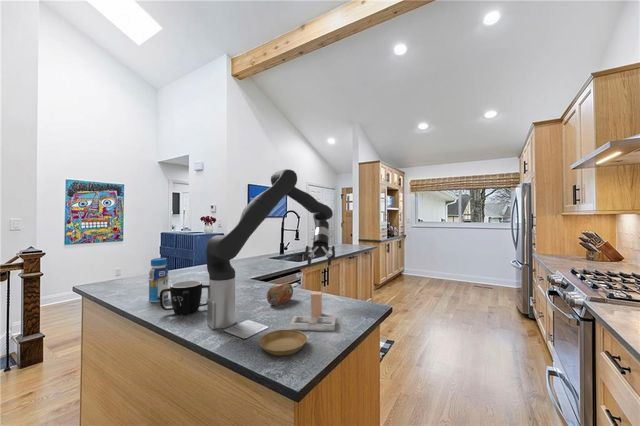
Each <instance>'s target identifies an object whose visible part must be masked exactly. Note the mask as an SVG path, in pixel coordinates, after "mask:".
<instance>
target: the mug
mask: <svg viewBox="0 0 640 426" xmlns="http://www.w3.org/2000/svg"><path fill="white" fill-rule="evenodd" d="M169 286H170V287H168V289H163V290H162V291H161V292H160V302H159V304H160V307H161V309H162V310H163V311H172V310H173V311H172V312H173V313H174V314H175V315H177V316H185V315H186V316H187V315H192V314H194V313H196V312H198V310H200V309H199V308H200V307H205V306H207V300H208V299H209V284H203V282H202V281H200V280H183V281H178V282H174V283H172V284H170V285H169ZM203 289H207V299H206V301H205V302H201V301H202V300H201V299H202V295H203V294H202V293H203V292H202V291H203ZM164 292H168V293H169V292H170V301H171V306H166V304H165V301H164Z"/></svg>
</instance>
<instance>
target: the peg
mask: <svg viewBox="0 0 640 426" xmlns="http://www.w3.org/2000/svg"><path fill="white" fill-rule="evenodd" d="M322 293H323V292H322V291H312V292H311V293H310V316H319V317H322V315H323V311H322V310H323V307H322V306H323V300H322V299H323V295H322Z"/></svg>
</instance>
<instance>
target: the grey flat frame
mask: <svg viewBox="0 0 640 426" xmlns="http://www.w3.org/2000/svg"><path fill="white" fill-rule="evenodd" d="M289 330H296V331H318V332H319V331H321V332H326V331H327V332H335V331H336V316H321V317H319V316H311V315H293V317H292V319H291V321H290V322H289Z"/></svg>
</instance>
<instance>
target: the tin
mask: <svg viewBox="0 0 640 426" xmlns="http://www.w3.org/2000/svg"><path fill="white" fill-rule="evenodd" d="M293 293H294V288H293V286H292V284H291V283H286V282H285V283H284V282H283V283H280V284H277V285H274V286H271V287H270V288H269V289H268V290H267V293H266V300H267V303H268V304H270V305H272V306H275V307H276V306H279V305H281V304H282V305H283V304H284V303H288V302H289V301H291V299H292V297H293Z"/></svg>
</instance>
